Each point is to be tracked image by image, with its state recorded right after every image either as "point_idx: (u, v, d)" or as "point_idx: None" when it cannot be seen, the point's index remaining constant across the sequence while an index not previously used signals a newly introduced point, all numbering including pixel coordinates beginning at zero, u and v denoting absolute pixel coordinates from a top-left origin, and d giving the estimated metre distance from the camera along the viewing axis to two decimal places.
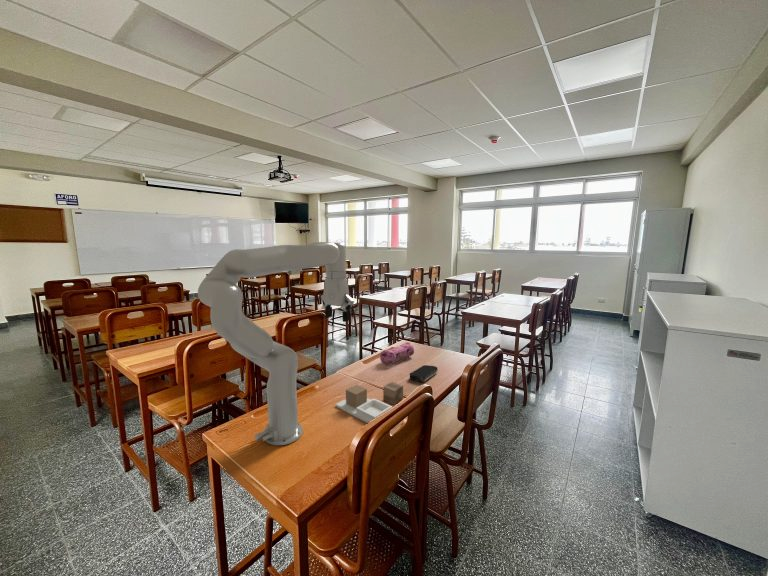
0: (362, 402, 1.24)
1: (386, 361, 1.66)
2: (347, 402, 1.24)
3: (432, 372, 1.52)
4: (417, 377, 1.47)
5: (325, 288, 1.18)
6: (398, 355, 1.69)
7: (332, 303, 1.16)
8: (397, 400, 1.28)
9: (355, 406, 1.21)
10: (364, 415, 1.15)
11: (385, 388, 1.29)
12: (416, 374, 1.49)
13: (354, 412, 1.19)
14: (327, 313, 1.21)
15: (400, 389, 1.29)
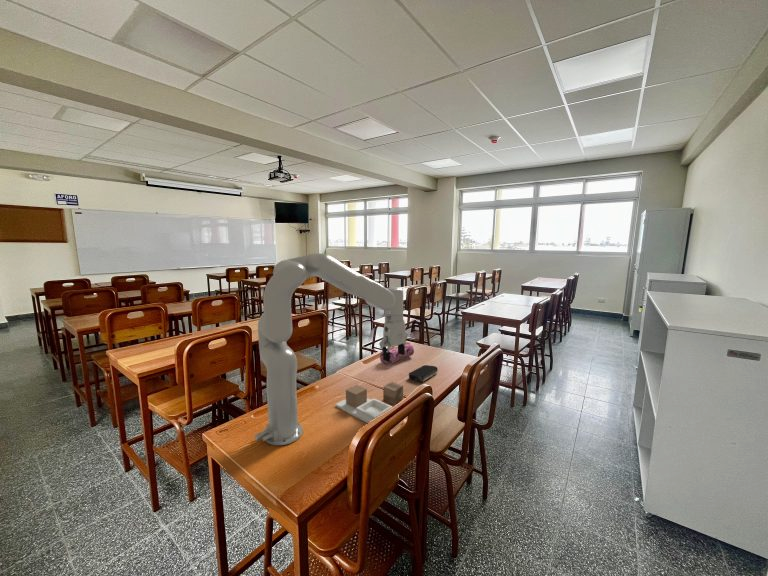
0: (362, 402, 1.24)
1: (386, 361, 1.66)
2: (347, 402, 1.24)
3: (432, 372, 1.52)
4: (416, 377, 1.47)
5: (394, 332, 1.23)
6: (398, 355, 1.69)
7: (400, 342, 1.26)
8: (397, 400, 1.28)
9: (355, 406, 1.21)
10: (364, 415, 1.15)
11: (385, 388, 1.29)
12: (415, 374, 1.49)
13: (354, 412, 1.19)
14: None
15: (400, 389, 1.29)
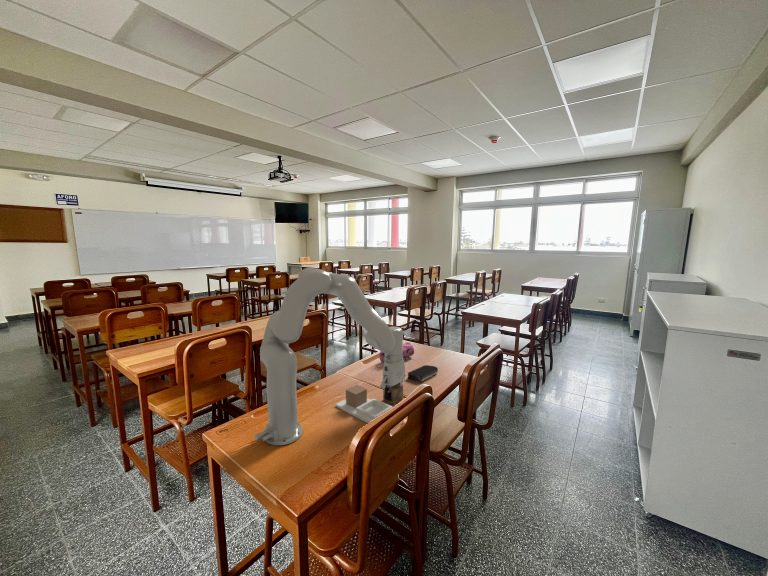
0: (362, 402, 1.24)
1: None
2: (347, 402, 1.24)
3: (431, 372, 1.52)
4: (414, 376, 1.47)
5: (393, 372, 1.25)
6: None
7: (399, 381, 1.28)
8: (397, 400, 1.28)
9: (355, 406, 1.21)
10: (364, 415, 1.15)
11: None
12: (414, 373, 1.50)
13: (354, 412, 1.19)
14: None
15: (400, 389, 1.29)
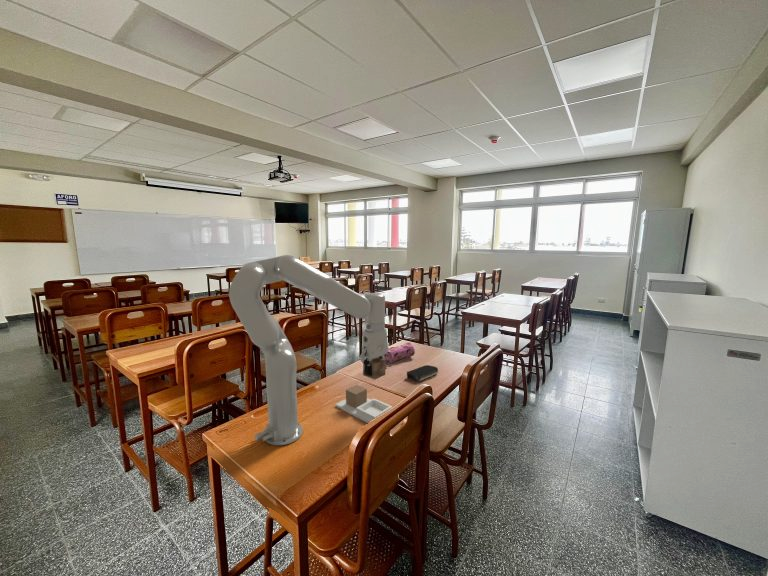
0: (362, 402, 1.24)
1: None
2: (347, 402, 1.24)
3: (430, 372, 1.52)
4: (413, 376, 1.48)
5: (373, 342, 1.11)
6: (396, 355, 1.70)
7: (381, 354, 1.14)
8: (378, 375, 1.14)
9: (355, 406, 1.21)
10: (364, 415, 1.15)
11: None
12: (413, 373, 1.50)
13: (354, 412, 1.19)
14: None
15: (382, 363, 1.15)
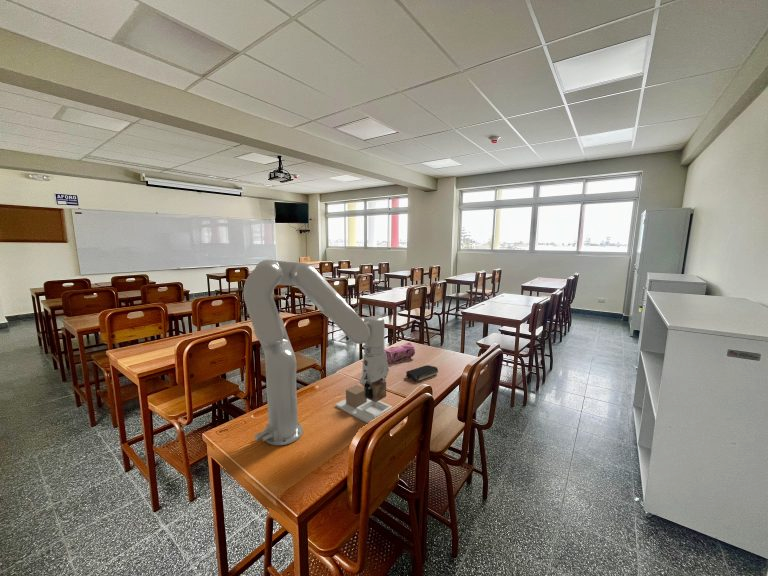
0: (362, 402, 1.24)
1: None
2: (347, 402, 1.24)
3: (430, 372, 1.52)
4: (412, 375, 1.48)
5: (373, 366, 1.12)
6: (396, 355, 1.70)
7: (381, 377, 1.16)
8: (379, 397, 1.15)
9: (355, 406, 1.21)
10: (364, 415, 1.15)
11: None
12: (412, 372, 1.51)
13: (354, 412, 1.19)
14: None
15: (382, 385, 1.16)
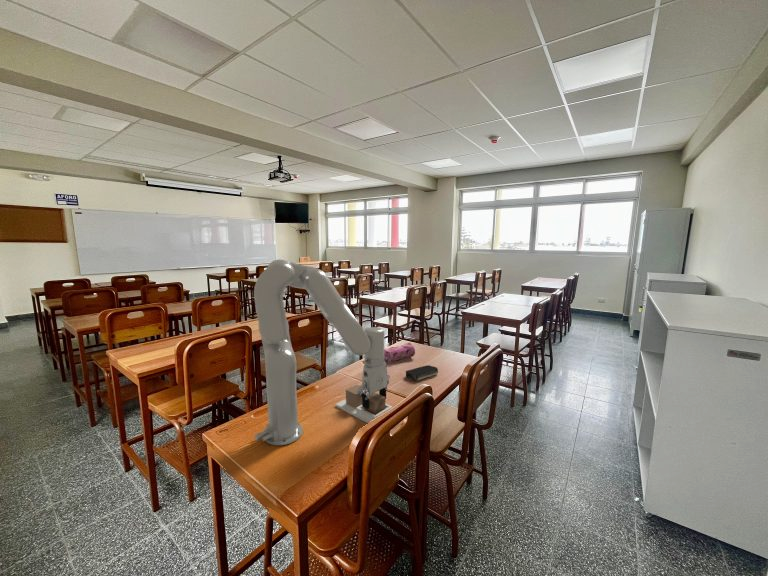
0: None
1: None
2: (347, 402, 1.24)
3: (429, 372, 1.52)
4: (411, 375, 1.49)
5: (373, 377, 1.13)
6: (395, 355, 1.70)
7: (381, 388, 1.16)
8: None
9: (355, 406, 1.21)
10: (364, 415, 1.15)
11: None
12: (411, 372, 1.51)
13: (354, 412, 1.19)
14: None
15: (382, 401, 1.17)
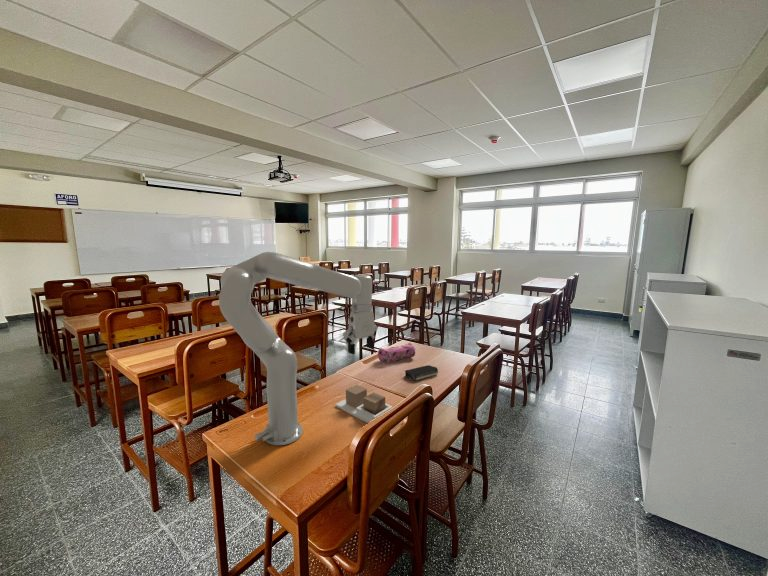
0: (362, 402, 1.24)
1: (381, 359, 1.69)
2: (347, 402, 1.24)
3: (429, 372, 1.52)
4: (410, 374, 1.50)
5: (359, 322, 1.14)
6: (395, 354, 1.70)
7: (367, 335, 1.17)
8: None
9: (355, 406, 1.21)
10: (364, 415, 1.15)
11: (365, 400, 1.17)
12: (411, 372, 1.52)
13: (354, 412, 1.19)
14: None
15: (382, 401, 1.17)
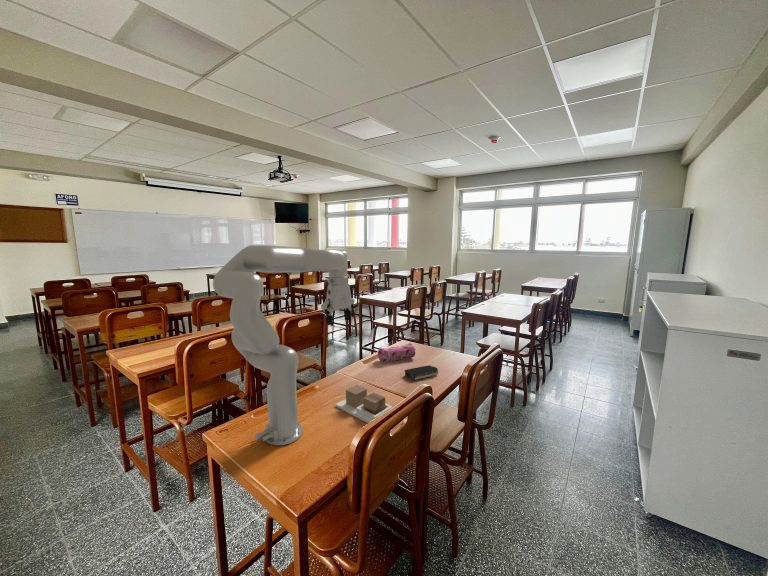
0: (362, 402, 1.24)
1: (381, 359, 1.70)
2: (347, 402, 1.24)
3: (428, 372, 1.52)
4: (409, 374, 1.50)
5: (336, 295, 1.21)
6: (394, 354, 1.70)
7: (344, 307, 1.25)
8: None
9: (355, 406, 1.21)
10: (364, 415, 1.15)
11: (365, 400, 1.17)
12: (410, 371, 1.52)
13: (354, 412, 1.19)
14: None
15: (382, 401, 1.17)
